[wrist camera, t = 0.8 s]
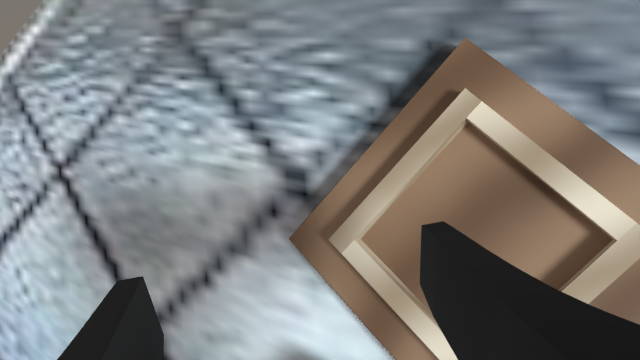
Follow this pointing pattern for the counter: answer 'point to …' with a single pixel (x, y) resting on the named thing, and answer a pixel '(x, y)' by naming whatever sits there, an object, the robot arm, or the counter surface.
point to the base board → (478, 203)
